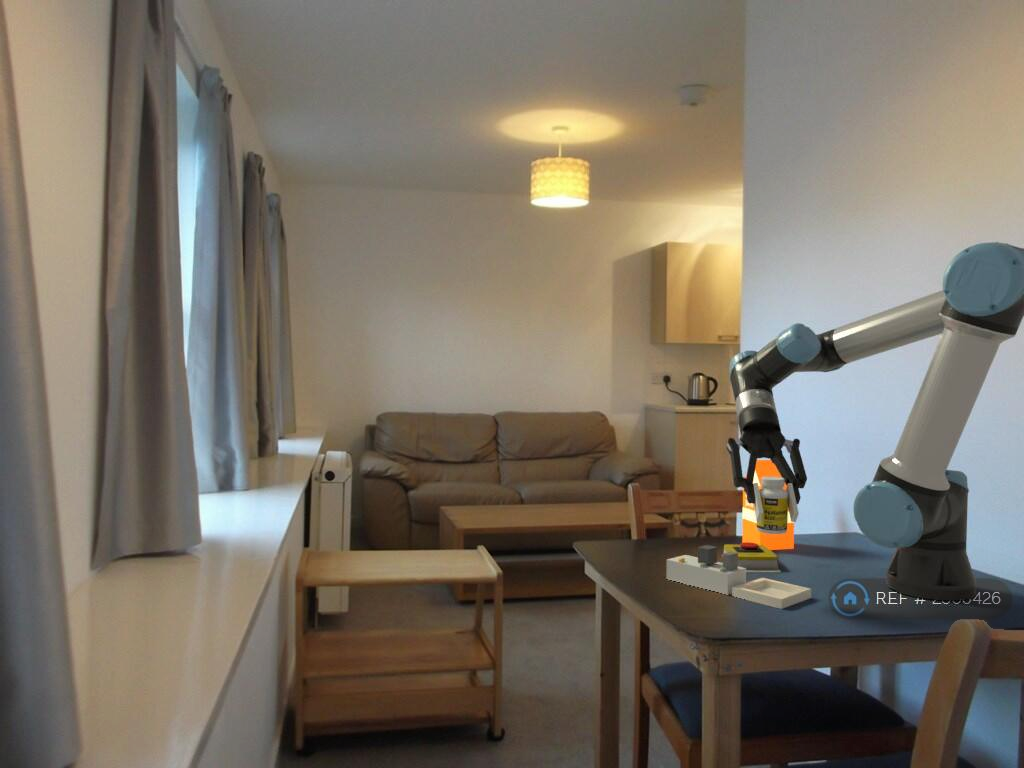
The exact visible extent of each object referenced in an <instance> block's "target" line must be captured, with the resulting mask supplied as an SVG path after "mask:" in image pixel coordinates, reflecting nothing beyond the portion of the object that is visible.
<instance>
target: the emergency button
mask: <svg viewBox="0 0 1024 768" xmlns="http://www.w3.org/2000/svg"><path fill="white" fill-rule="evenodd" d="M728 552H736V553H738V567H743V568H746V574H748V573H749V574H750V573H751V574H753V573H754V574H757V573H758V574H765V573H766V574H780V573H781V572H782V571H781V570H780V568H779V565H778V563H779V562H778V555H777V554H775V553H774V552H773V550H770V549H768V548H767V547H766V546H765V545H758V544H756V543H751V542H744V543H742V542H740V543H739V544H724V546H723V554H724V553H728ZM723 554H721V557H722V558H723Z"/></svg>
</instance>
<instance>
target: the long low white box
mask: <svg viewBox="0 0 1024 768" xmlns="http://www.w3.org/2000/svg"><path fill="white" fill-rule="evenodd" d="M722 555H723V557H722V562H720V561H717V563H714V564H710V565H706V563H698V556H693V555H689V554H688V555H687V554H683V555H679V556H674V557H672V558H668V559H666V579H668V580H667V581H669V580H672V581H671V582H673V581H676V582H675V583H677V582H680V583H679V584H681V583H683V584H682V585H685V584H686V586H689V585H691V586H690V587H693V586H695V587H694V588H697V587H699V588H698V589H701V588H703V589H702V590H705V589H707V590H706V591H709V590H711V591H710V592H712V591H715V592H714V593H716V592H719V593H718V594H720V593H722V595H724V594H726V595H725V596H730V595H732V587H735V586H738V585H741V584H744V583H747V573H746V568H743V567H738V553H736V552H728V553H724V552H723V553H722ZM729 594H730V595H729Z"/></svg>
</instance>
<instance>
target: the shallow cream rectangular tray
mask: <svg viewBox="0 0 1024 768" xmlns="http://www.w3.org/2000/svg"><path fill="white" fill-rule="evenodd" d="M732 596H734V597H733V598H736V597H737V599H740V598H741V599H740V600H744V599H745V600H744V601H749V602H752V603H756V604H761V605H764V606H768V607H772V608H776V609H781V610H782V609H785V608H788V607H791V606H794V605H796V604H799V603H802V602H805V601H806V600H810V599H812V588H809V587H806V586H800V585H796V584H793V583H789V582H782V581H780V580H779V581H778V580H775V579H770V578H765V577H760V578H757V579H754V580H751V581H746V583H744V584H741V585H738V586H735V587H732V594H731V597H732Z"/></svg>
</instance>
